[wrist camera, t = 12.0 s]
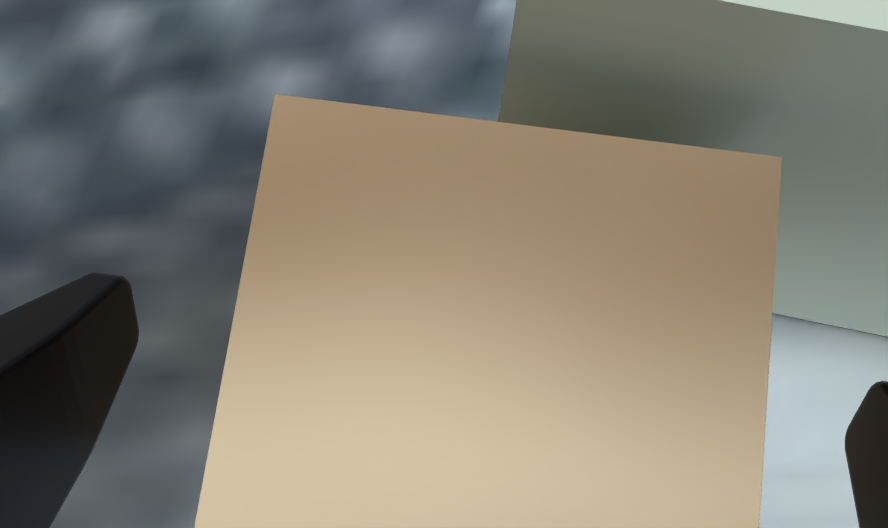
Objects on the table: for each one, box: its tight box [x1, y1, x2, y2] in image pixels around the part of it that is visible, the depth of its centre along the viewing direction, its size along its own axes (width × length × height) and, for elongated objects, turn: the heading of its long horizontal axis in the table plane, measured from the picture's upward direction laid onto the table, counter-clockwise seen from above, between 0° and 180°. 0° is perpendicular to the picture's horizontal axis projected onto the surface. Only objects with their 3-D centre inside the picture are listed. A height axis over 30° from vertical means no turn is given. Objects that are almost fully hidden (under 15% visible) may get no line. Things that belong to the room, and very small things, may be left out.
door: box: [498, 0, 888, 337], centre depth 12 cm, size 12×3×12 cm, turn 78°
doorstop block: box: [194, 94, 782, 528], centre depth 13 cm, size 4×5×11 cm
